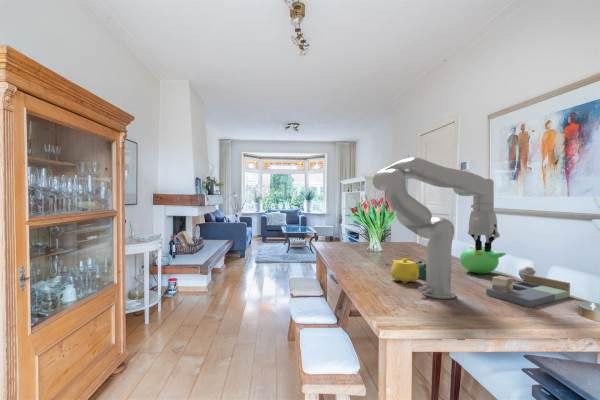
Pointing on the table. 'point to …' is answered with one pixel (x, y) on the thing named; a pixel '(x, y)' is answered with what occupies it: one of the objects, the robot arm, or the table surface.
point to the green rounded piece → (480, 260)
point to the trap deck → (533, 291)
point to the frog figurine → (526, 272)
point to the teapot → (405, 270)
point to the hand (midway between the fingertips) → (483, 250)
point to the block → (502, 284)
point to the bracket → (421, 269)
